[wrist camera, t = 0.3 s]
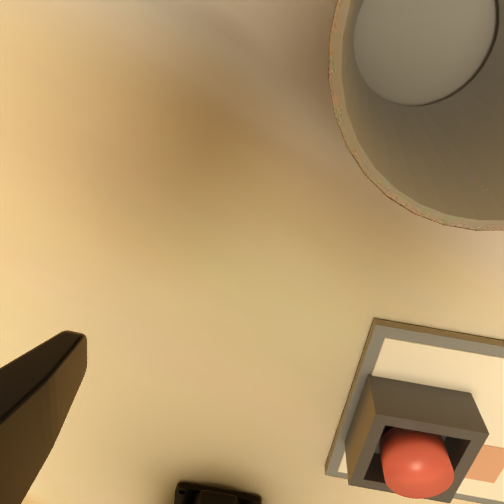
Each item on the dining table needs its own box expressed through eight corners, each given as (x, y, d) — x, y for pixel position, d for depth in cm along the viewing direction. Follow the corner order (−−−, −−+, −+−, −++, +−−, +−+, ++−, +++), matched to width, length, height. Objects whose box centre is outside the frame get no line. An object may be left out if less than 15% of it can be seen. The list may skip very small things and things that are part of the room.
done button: (431, 471, 26) (441, 503, 25) (371, 460, 27) (376, 491, 25) (452, 430, 25) (464, 461, 23) (388, 418, 25) (395, 449, 23)
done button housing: (436, 458, 29) (449, 503, 26) (344, 442, 29) (348, 484, 26) (470, 391, 26) (489, 433, 23) (368, 373, 26) (375, 413, 23)
